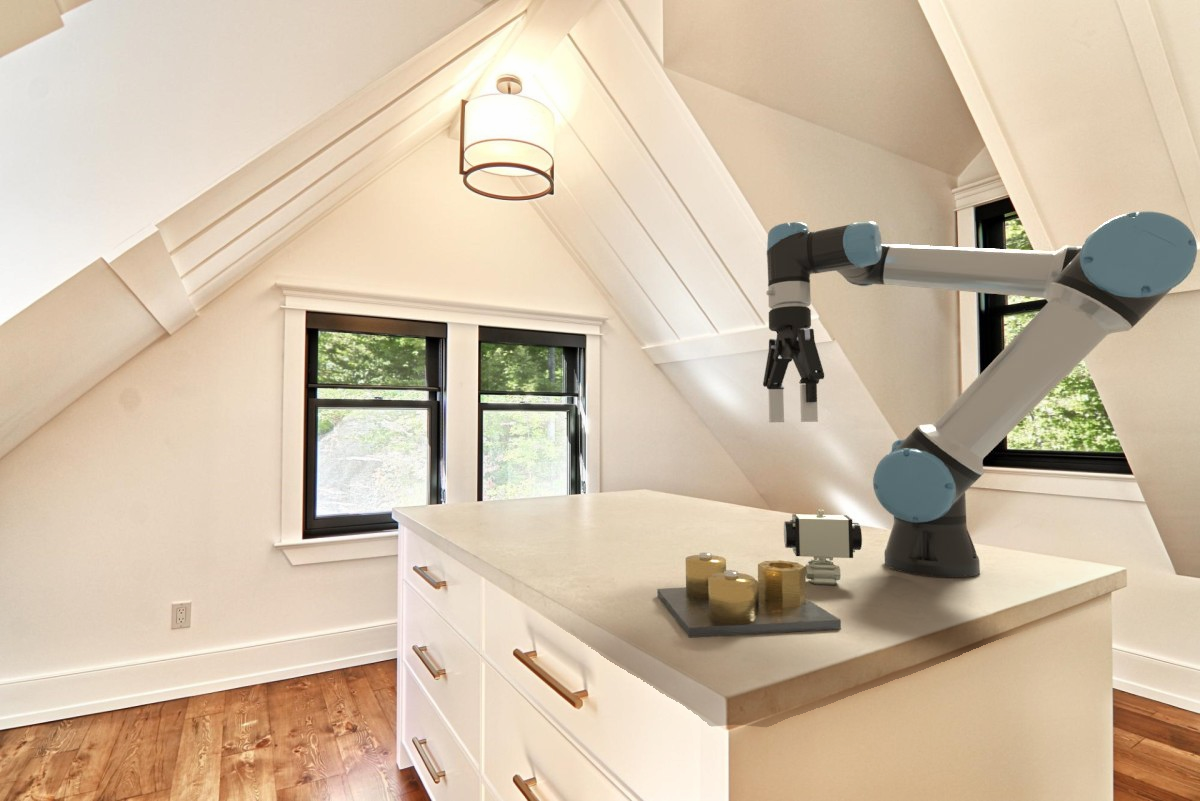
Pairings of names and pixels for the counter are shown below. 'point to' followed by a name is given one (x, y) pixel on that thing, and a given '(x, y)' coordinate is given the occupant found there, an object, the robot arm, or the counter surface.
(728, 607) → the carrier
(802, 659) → the counter surface
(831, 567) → the pneumatic valve
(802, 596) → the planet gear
